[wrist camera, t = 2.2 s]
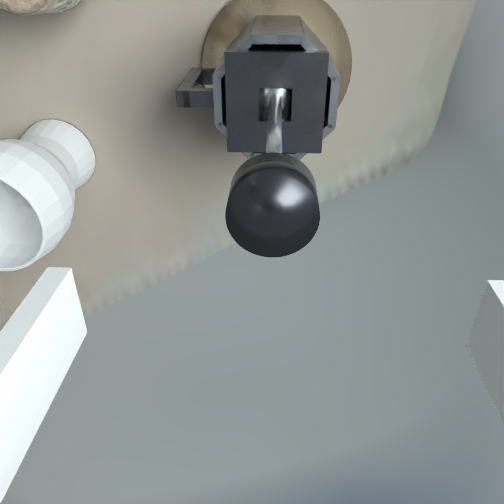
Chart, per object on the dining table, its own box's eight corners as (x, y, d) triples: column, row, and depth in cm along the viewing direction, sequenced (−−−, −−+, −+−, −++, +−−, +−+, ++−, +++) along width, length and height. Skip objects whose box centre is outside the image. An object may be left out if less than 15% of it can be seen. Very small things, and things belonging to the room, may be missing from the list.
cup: (46, 82, 46) (-41, 132, 34) (129, 159, 50) (78, 230, 38) (-10, 149, 51) (-106, 217, 38) (70, 216, 55) (7, 296, 42)
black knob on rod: (232, 52, 34) (192, 144, 18) (320, 53, 34) (357, 146, 18) (234, 137, 38) (201, 277, 22) (314, 138, 38) (340, 281, 22)
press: (192, -17, 41) (163, -5, 31) (359, -17, 41) (387, -4, 30) (202, 138, 49) (181, 190, 38) (342, 141, 48) (360, 194, 38)
